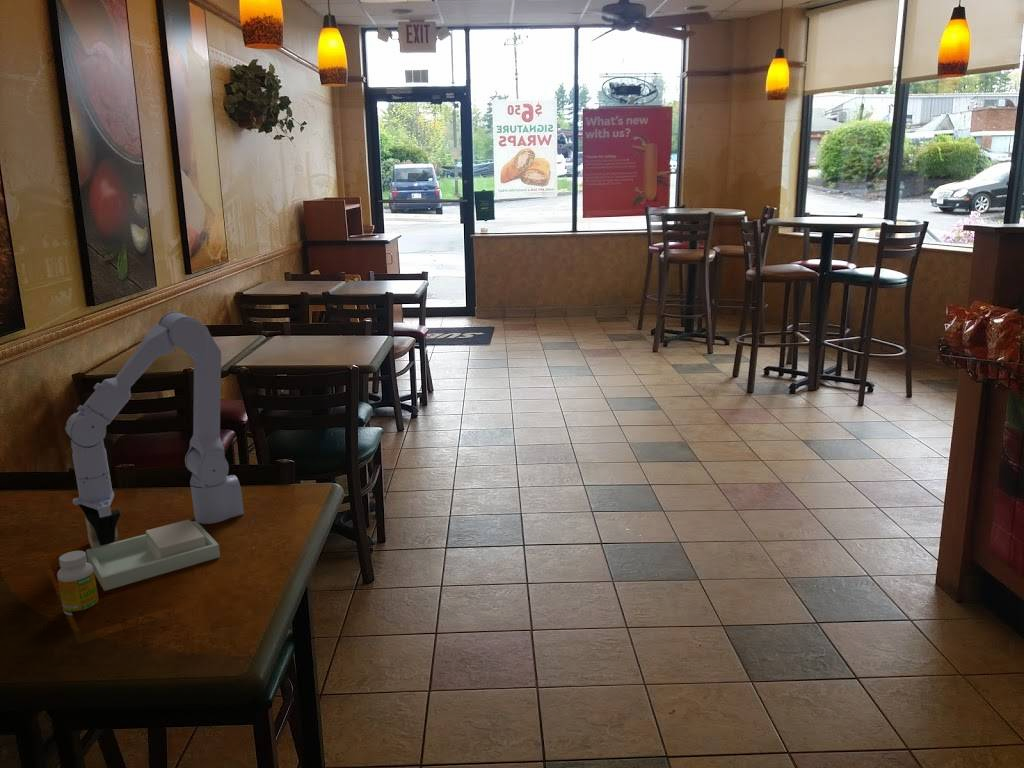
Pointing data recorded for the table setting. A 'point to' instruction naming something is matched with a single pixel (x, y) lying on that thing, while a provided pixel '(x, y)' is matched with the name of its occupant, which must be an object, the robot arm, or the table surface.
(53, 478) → the table surface
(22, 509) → the table surface
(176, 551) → the light gray block
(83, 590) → the supplement bottle
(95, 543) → the maple block
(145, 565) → the pale green tray
